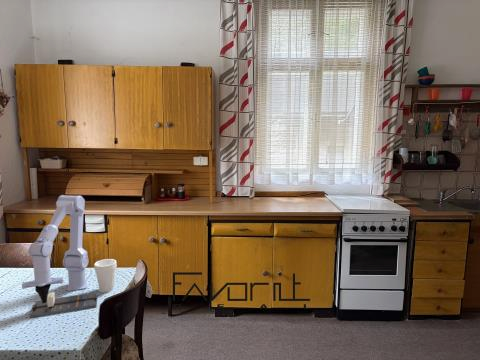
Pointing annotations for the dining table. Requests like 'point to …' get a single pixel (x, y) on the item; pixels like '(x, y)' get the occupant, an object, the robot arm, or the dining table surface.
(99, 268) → the foam cup
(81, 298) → the console
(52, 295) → the block
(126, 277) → the dining table surface
